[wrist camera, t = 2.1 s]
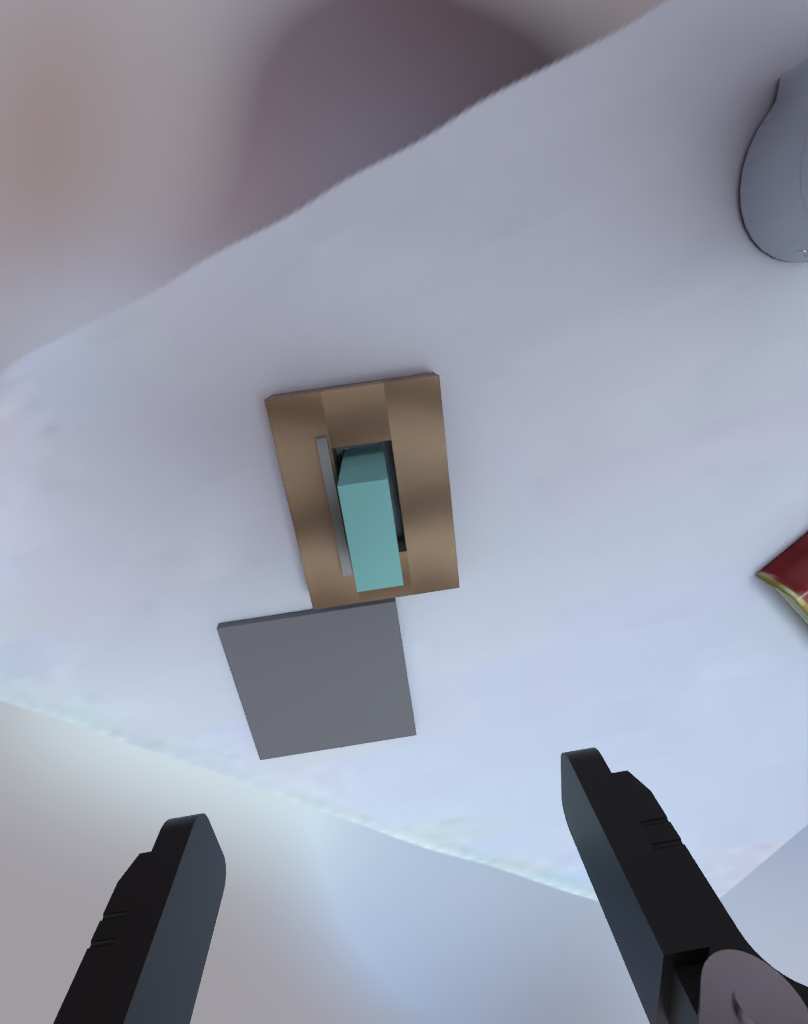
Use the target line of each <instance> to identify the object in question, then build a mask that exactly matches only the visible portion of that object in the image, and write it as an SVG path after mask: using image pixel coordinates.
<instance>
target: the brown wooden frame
mask: <svg viewBox="0 0 808 1024" xmlns="http://www.w3.org/2000/svg"><path fill="white" fill-rule="evenodd" d="M264 401H265V405H266V409H267V413H268V418H269V422H270V426H271V431H272V435H273V439H274V443H275V448H276V452H277V456H278V461H279V465H280V469H281V473H282V478H283V482H284V486H285V490H286V495H287V499H288V503H289V508H290V512H291V516H292V520H293V525H294V529H295V533H296V537H297V542H298V546H299V550H300V555H301V559H302V563H303V567H304V572H305V576H306V580H307V585H308V589H309V593H310V597H311V602H312V606H313V610H316V609H322V608H329V607H335V606H342V605H348V604H355V603H361V602H368V601H375V600H381V599H388V598H394V597H401V596H407V595H414V594H421V593H427V592H434V591H440V590H447V589H453V588H459V577H458V567H457V556H456V546H455V536H454V525H453V515H452V504H451V494H450V483H449V473H448V463H447V452H446V442H445V431H444V421H443V411H442V400H441V390H440V379H439V375H437V374H435V373H434V372H432V373H425V374H417V375H410V376H403V377H396V378H389V379H382V380H375V381H367V382H360V383H353V384H346V385H339V386H332V387H324V388H317V389H310V390H303V391H296V392H289V393H281V394H274V395H271V396H270V397H268V398H267V399H265V400H264ZM388 440H391V446H392V453H393V461H394V468H395V475H396V482H397V489H398V496H399V503H400V511H401V518H402V525H403V532H404V536H399V537H397V543H398V550H399V557H400V564H401V571H402V578H403V584H404V585H401V586H395V587H388V588H382V589H375V590H368V591H362V592H357V588H356V582H355V577H354V572H353V566H352V561H351V556H350V551H349V545H348V540H347V535H346V530H345V524H344V519H343V514H342V508H341V503H340V498H339V493H338V487H337V485H338V480H339V475H340V469H339V464H338V458H337V453H336V448H340V447H347V446H354V445H361V444H368V443H375V442H382V441H388Z"/></svg>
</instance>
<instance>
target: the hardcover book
mask: <svg viewBox="0 0 808 1024" xmlns="http://www.w3.org/2000/svg"><path fill="white" fill-rule="evenodd" d="M756 576H757V577H758V578H760V579H762V580H764V581H766V582H767V583H769V584H771V585H772V586H774V587H775V589H776V590H777V591H778V592H779V593H780V594H781V595H782V596H783V597H784V599H785V600H786V601H787V602H788V603H789V604H790V605H791V606H792V607H793V609H794V610H795V611H796V612H797V613H798V614H799V615H800V616H801V618H802V619H803V620H804V621H805V622H806V623H807V624H808V532H807V533H806V534H805V535H804V536H802V537H801V538H800V539H799V540H798V541H796V542H795V543H794V544H793V545H791V546H790V547H789V548H788V549H787V550H785V551H784V552H783V553H782V554H780V555H779V556H778V557H777V558H776V559H774V560H773V561H772V562H771V563H769V564H768V565H767V566H766V567H764V568H763V569H762V570H761V571H760V572H758V573H757V574H756Z"/></svg>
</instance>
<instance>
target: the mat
mask: <svg viewBox="0 0 808 1024" xmlns="http://www.w3.org/2000/svg"><path fill="white" fill-rule="evenodd" d="M217 630H218V633H219V636H220V639H221V643H222V646H223V649H224V652H225V655H226V658H227V661H228V664H229V667H230V670H231V673H232V676H233V679H234V682H235V685H236V688H237V691H238V694H239V697H240V700H241V703H242V706H243V709H244V712H245V715H246V718H247V721H248V725H249V728H250V731H251V734H252V737H253V740H254V743H255V746H256V749H257V752H258V755H259V758H260V760H263V759H270V758H276V757H282V756H288V755H295V754H301V753H307V752H313V751H320V750H326V749H332V748H338V747H344V746H351V745H357V744H363V743H369V742H376V741H382V740H388V739H394V738H401V737H407V736H413V735H416V729H415V723H414V716H413V710H412V703H411V697H410V691H409V684H408V678H407V671H406V665H405V659H404V652H403V646H402V639H401V633H400V627H399V620H398V614H397V607H396V601H395V597H394V598H388V599H381V600H375V601H368V602H361V603H355V604H348V605H342V606H335V607H329V608H322V609H316V610H307V611H300V612H294V613H287V614H280V615H274V616H267V617H261V618H254V619H248V620H241V621H235V622H228V623H221V624H219V626H218V628H217Z"/></svg>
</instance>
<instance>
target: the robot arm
mask: <svg viewBox="0 0 808 1024" xmlns="http://www.w3.org/2000/svg"><path fill="white" fill-rule="evenodd" d="M740 200H741V211H742V215H743V219H744V223H745V226H746V228H747V230H748V232H749V234H750V236H751V238H752V240H753V241H754V242H755V243H756V244H757V245H758V246H759V247H760V249H761V250H762V251H764V252H765V253H767V254H769V255H770V256H772V257H774V258H776V259H780V260H783V261H787V262H805V261H808V60H806V61H805V62H803V63H801V64H800V65H798V66H797V67H795V68H793V69H792V70H790V71H789V72H787V73H786V74H784V75H783V76H782V77H781V78H780V81H779V88H778V94H777V98H776V101H775V103H774V105H773V107H772V108H771V110H770V112H769V113H768V115H767V116H766V118H765V119H764V121H763V122H762V124H761V125H760V127H759V128H758V130H757V132H756V134H755V136H754V139H753V141H752V143H751V145H750V147H749V150H748V153H747V156H746V160H745V163H744V167H743V170H742V178H741V186H740ZM561 790H562V805H563V810H564V814H565V818H566V821H567V824H568V827H569V830H570V832H571V835H572V837H573V840H574V842H575V845H576V847H577V849H578V852H579V854H580V857H581V859H582V861H583V864H584V866H585V869H586V871H587V873H588V876H589V878H590V881H591V883H592V885H593V888H594V890H595V893H596V895H597V897H598V900H599V902H600V905H601V907H602V909H603V912H604V914H605V917H606V919H607V921H608V924H609V926H610V929H611V931H612V933H613V936H614V938H615V940H616V943H617V945H618V947H619V950H620V953H621V955H622V957H623V960H624V962H625V965H626V967H627V969H628V972H629V974H630V977H631V979H632V981H633V984H634V986H635V989H636V991H637V993H638V996H639V998H640V1001H641V1003H642V1005H643V1008H644V1010H645V1013H646V1015H647V1017H648V1020H649V1022H650V1024H808V987H807V986H804V985H802V984H800V983H798V982H795V981H793V980H792V979H790V978H788V977H786V976H785V975H783V974H782V973H780V972H779V971H777V970H776V969H774V968H773V967H772V966H771V965H770V964H768V963H767V962H766V961H764V960H763V959H762V958H761V957H760V956H759V955H758V954H757V953H756V952H755V951H754V950H753V948H752V947H751V946H750V945H749V944H748V943H747V941H746V940H745V939H744V937H743V936H742V934H741V933H740V932H739V930H738V928H737V927H736V925H735V924H734V922H733V920H732V919H731V917H730V916H729V914H728V913H727V911H726V910H725V908H724V906H723V905H722V903H721V902H720V900H719V898H718V897H717V895H716V894H715V892H714V890H713V889H712V887H711V886H710V884H709V882H708V881H707V879H706V878H705V876H704V875H703V873H702V871H701V870H700V868H699V867H698V865H697V863H696V862H695V860H694V859H693V857H692V856H691V854H690V852H689V851H688V849H687V848H686V846H685V844H682V842H681V838H680V837H679V835H678V833H677V832H676V830H675V829H674V827H673V825H672V824H671V822H669V821H668V819H667V816H666V814H665V813H664V811H663V810H662V808H661V806H660V805H659V803H658V802H657V800H656V799H655V797H654V795H653V794H652V792H651V791H650V790H649V789H648V788H647V787H646V786H645V785H643V784H642V783H641V782H640V781H639V780H638V779H637V778H635V777H634V776H633V775H632V774H631V773H630V772H629V771H622V772H616V773H611V771H610V769H609V768H608V766H607V764H606V762H605V761H604V759H603V757H602V755H601V754H600V752H599V751H598V750H597V749H596V748H588V749H582V750H577V751H571V752H565V753H562V754H561ZM225 879H226V864H225V858H224V855H223V852H222V850H221V848H220V845H219V843H218V841H217V838H216V836H215V833H214V831H213V829H212V827H211V824H210V822H209V819H208V818H207V816H206V815H205V814H196V815H191V816H185V817H179V818H173V819H169V820H167V821H166V822H165V823H164V825H163V826H162V828H161V830H160V832H159V835H158V837H157V840H156V842H155V844H154V847H153V849H152V851H151V852H147V853H140V854H139V856H138V857H137V858H136V859H135V860H134V862H133V863H132V864H131V866H130V867H129V868H128V870H127V871H126V872H125V874H124V875H123V876H122V877H121V879H120V880H119V881H118V883H117V885H116V887H115V889H114V892H113V894H112V896H111V898H110V900H109V902H108V905H107V907H106V909H105V911H104V914H103V920H102V921H100V923H99V924H98V927H97V929H96V931H95V933H94V935H93V938H92V940H91V946H90V948H89V949H87V951H86V953H85V955H84V957H83V960H82V962H81V964H80V966H79V968H78V971H77V973H76V975H75V977H74V979H73V982H72V984H71V986H70V988H69V991H68V993H67V995H66V997H65V999H64V1001H63V1003H62V1006H61V1008H60V1010H59V1012H58V1014H57V1017H56V1019H55V1021H54V1023H53V1024H190V1020H191V1016H192V1013H193V1009H194V1005H195V1001H196V997H197V993H198V989H199V985H200V981H201V977H202V974H203V969H204V966H205V962H206V958H207V954H208V950H209V946H210V942H211V938H212V935H213V931H214V926H215V923H216V919H217V915H218V911H219V907H220V903H221V899H222V896H223V891H224V887H225Z"/></svg>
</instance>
